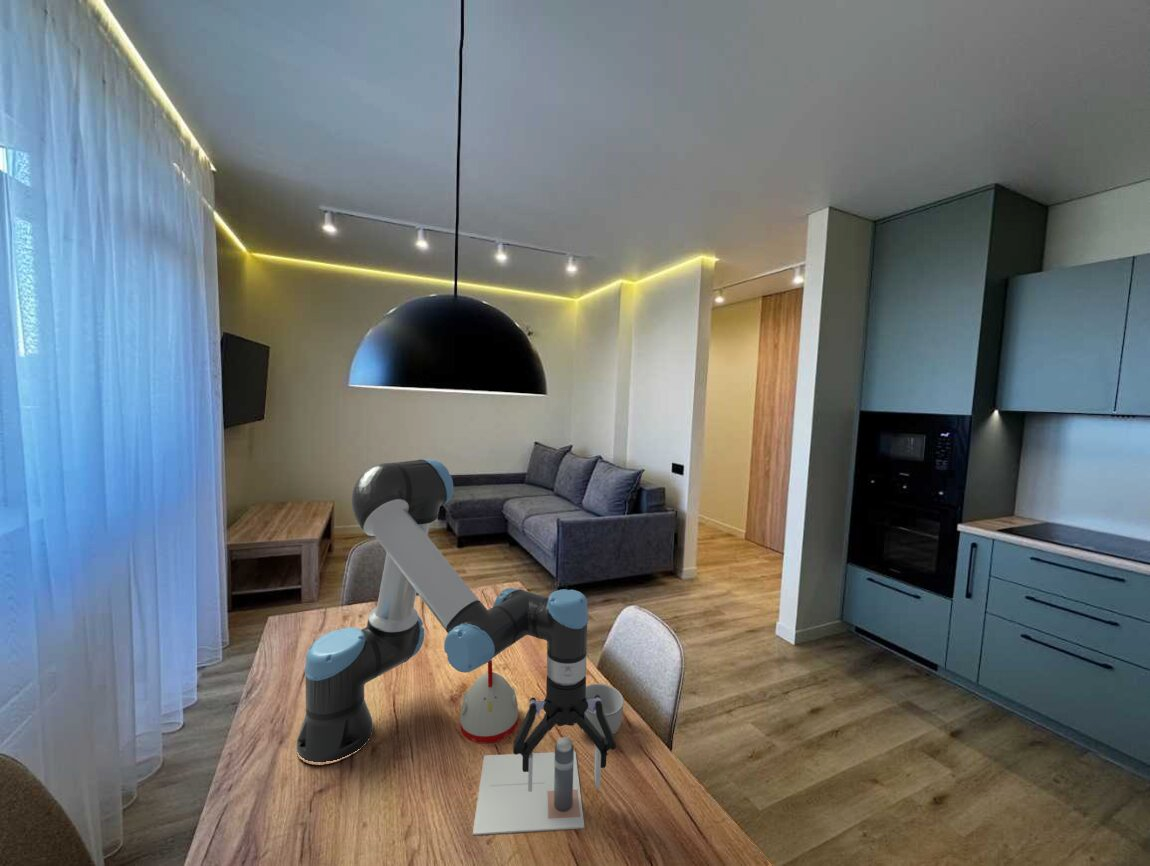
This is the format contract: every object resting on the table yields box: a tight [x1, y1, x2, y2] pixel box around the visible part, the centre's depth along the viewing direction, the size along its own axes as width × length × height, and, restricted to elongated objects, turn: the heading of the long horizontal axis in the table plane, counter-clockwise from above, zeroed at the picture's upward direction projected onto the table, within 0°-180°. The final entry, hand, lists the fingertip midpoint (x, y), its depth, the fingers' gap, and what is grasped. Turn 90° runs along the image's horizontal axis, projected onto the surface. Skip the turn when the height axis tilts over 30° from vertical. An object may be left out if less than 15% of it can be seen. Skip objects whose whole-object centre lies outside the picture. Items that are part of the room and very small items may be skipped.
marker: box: [554, 736, 575, 812], centre depth 85 cm, size 4×4×12 cm
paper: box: [472, 750, 585, 836], centre depth 89 cm, size 20×18×1 cm
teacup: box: [576, 683, 625, 739], centre depth 106 cm, size 14×11×8 cm
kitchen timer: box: [459, 659, 519, 744], centre depth 107 cm, size 14×14×15 cm
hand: (563, 784), depth 85 cm, fingers open, 12 cm apart
